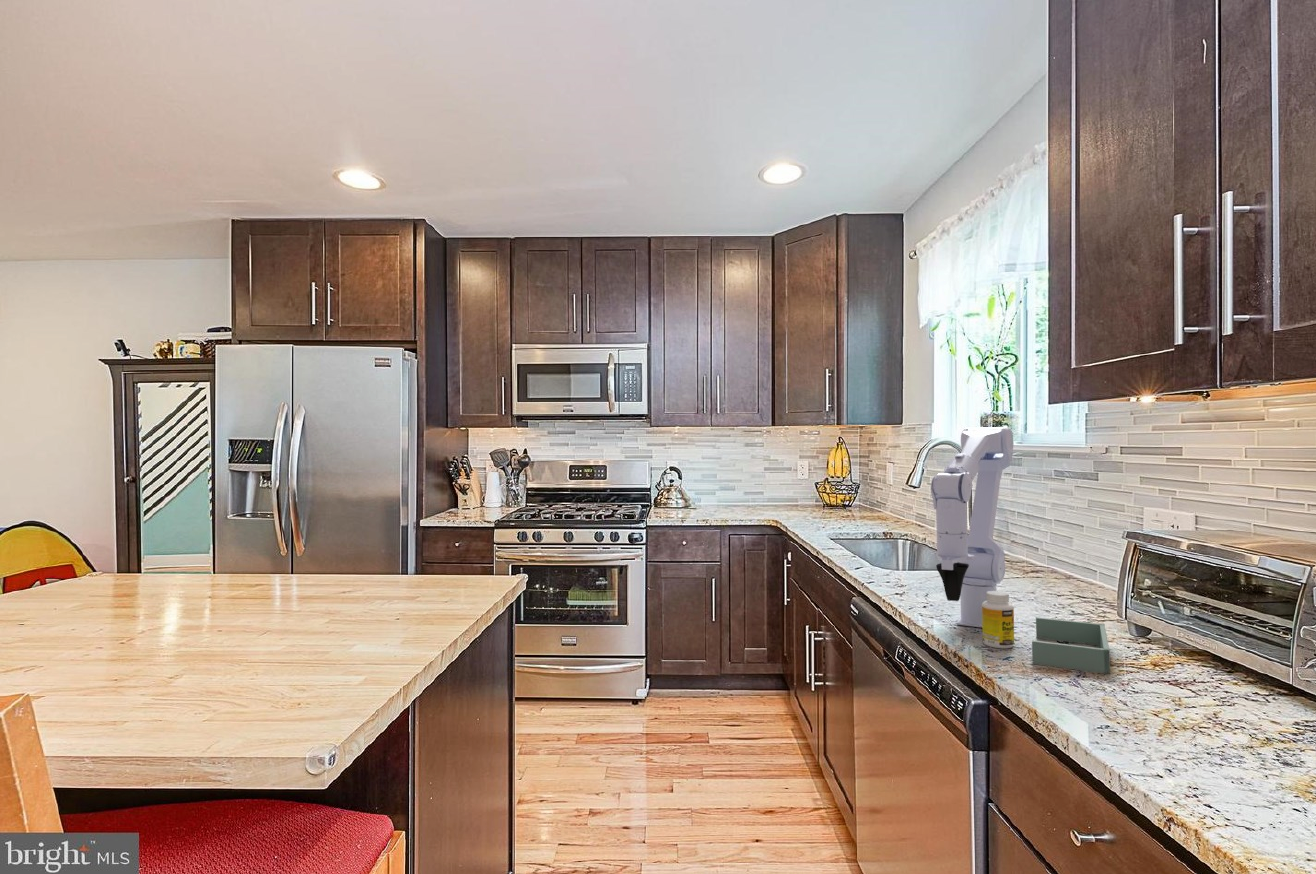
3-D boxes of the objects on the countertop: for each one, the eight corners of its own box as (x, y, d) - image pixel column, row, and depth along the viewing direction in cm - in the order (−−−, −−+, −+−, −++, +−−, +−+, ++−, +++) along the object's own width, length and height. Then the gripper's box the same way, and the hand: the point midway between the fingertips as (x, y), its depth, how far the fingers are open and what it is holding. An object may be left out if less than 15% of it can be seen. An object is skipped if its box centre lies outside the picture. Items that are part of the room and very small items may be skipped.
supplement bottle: (1004, 651, 129) (1003, 597, 129) (976, 644, 134) (975, 592, 134) (1020, 646, 132) (1019, 593, 132) (992, 639, 137) (991, 588, 137)
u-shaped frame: (1036, 637, 138) (1036, 617, 138) (1105, 644, 132) (1104, 624, 132) (1032, 663, 122) (1032, 641, 122) (1110, 674, 116) (1109, 650, 116)
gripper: (969, 538, 129) (970, 610, 129) (977, 529, 141) (979, 594, 141) (929, 536, 133) (931, 606, 133) (941, 527, 145) (942, 591, 145)
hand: (953, 600), depth 137 cm, fingers closed
